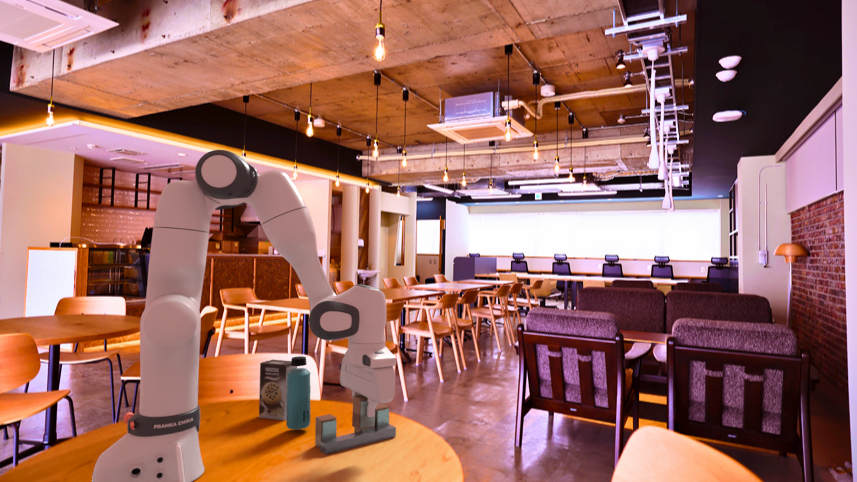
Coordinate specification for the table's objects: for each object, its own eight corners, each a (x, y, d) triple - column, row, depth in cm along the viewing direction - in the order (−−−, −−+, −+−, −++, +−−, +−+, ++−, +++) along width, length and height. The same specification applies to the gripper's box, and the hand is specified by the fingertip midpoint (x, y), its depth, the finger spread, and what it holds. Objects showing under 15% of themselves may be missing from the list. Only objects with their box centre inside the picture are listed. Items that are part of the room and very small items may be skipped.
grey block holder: (325, 454, 113) (325, 424, 114) (313, 445, 119) (313, 417, 119) (395, 436, 125) (395, 409, 126) (381, 429, 131) (382, 403, 131)
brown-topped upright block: (360, 430, 109) (361, 399, 109) (352, 426, 112) (353, 395, 112) (375, 427, 111) (376, 397, 111) (366, 423, 114) (368, 393, 115)
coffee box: (257, 418, 140) (258, 362, 141) (271, 411, 146) (272, 358, 147) (284, 421, 138) (285, 364, 138) (296, 414, 144) (297, 360, 145)
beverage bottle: (303, 436, 125) (304, 359, 126) (280, 434, 127) (282, 358, 128) (314, 427, 132) (315, 355, 133) (292, 426, 133) (293, 354, 134)
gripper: (334, 348, 119) (332, 404, 118) (376, 362, 102) (374, 427, 102) (357, 346, 123) (355, 400, 122) (400, 359, 106) (398, 422, 105)
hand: (364, 413), depth 112 cm, fingers closed on brown-topped upright block, 4 cm apart
